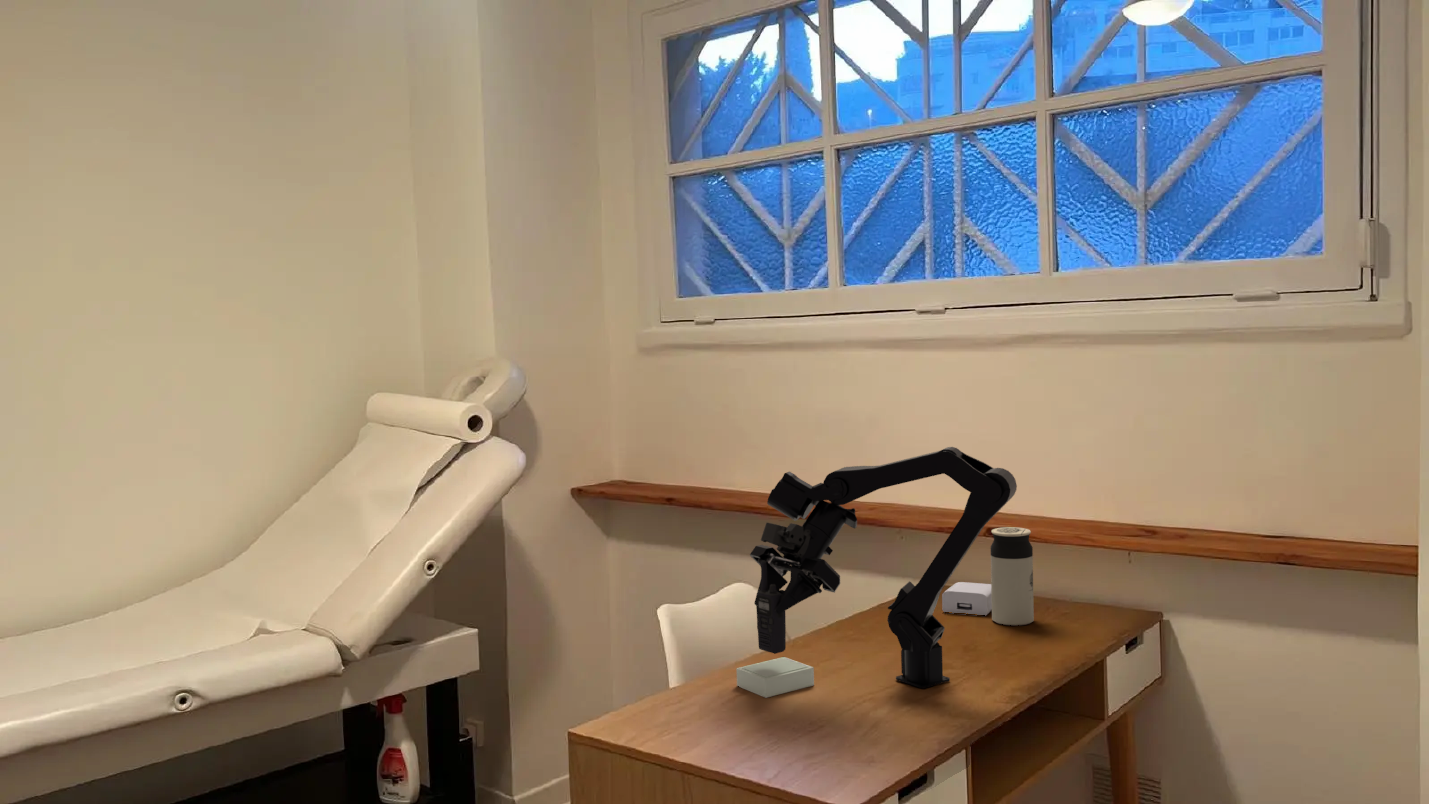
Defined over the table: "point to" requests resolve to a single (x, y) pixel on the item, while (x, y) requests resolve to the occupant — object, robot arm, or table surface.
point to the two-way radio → (770, 617)
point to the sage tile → (775, 677)
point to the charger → (968, 598)
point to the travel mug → (1012, 576)
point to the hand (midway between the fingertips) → (766, 608)
